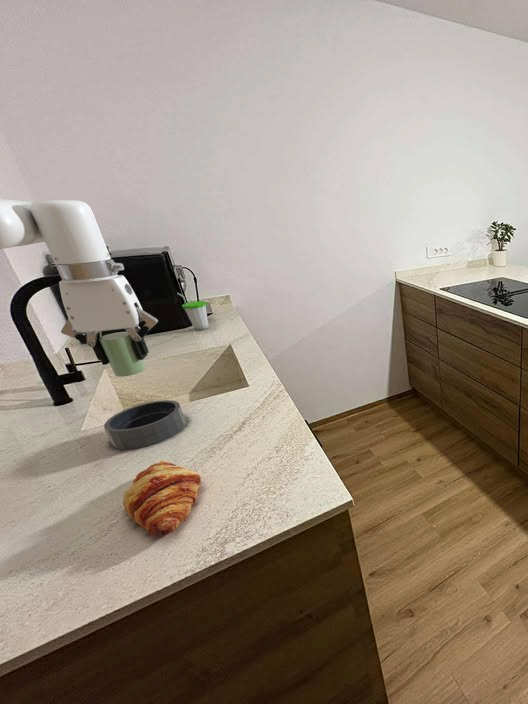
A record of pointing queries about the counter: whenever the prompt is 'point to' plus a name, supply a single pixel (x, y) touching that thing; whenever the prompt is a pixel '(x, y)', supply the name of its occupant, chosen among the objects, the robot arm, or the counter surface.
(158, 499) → the croissant
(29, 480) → the counter surface
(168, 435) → the basin
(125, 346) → the mint green cylinder
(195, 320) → the cup
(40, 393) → the counter surface
